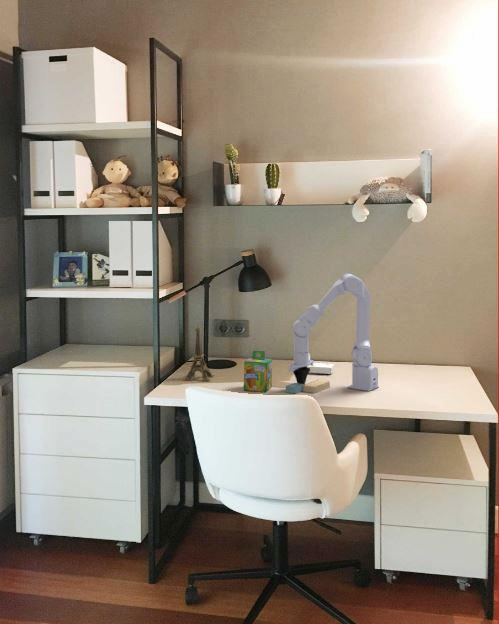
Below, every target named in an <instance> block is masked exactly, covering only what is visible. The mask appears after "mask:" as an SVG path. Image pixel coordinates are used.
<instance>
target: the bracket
mask: <svg viewBox="0 0 499 624" xmlns="http://www.w3.org/2000/svg"><path fill="white" fill-rule="evenodd" d="M309 360H311V353H309ZM307 368H310V371H309V373H308V374H311V373H312V374H325V375H327V374H328V375H333V374H334V372H335V364H334V363H320V362H319V363H317V362H313V365H310V366H307Z"/></svg>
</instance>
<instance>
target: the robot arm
mask: <svg viewBox="0 0 499 624" xmlns="http://www.w3.org/2000/svg"><path fill="white" fill-rule="evenodd" d="M347 292H348V293H351V294H352V295H353V297H355V299H356V318H355V320H356V321H355V340H354V343H353V349H352V350H351V357H352V359H353V361H352V365H351V366H352V368H351V369H352V370H351V371H352V372H351V373H352V375H351V385H348V386H347V388H349V389H352V390H353V389H355V390H361V391H366V392H370V391H373V390H375V389H377V388H380V387H379V370H378V367H377V366H374V365H372V363H373V353H372V350H371V347H372V346H371V344H370V323H371V322H370V318H371V317H370V315H371V293H370V292H369V290H368V288H367V287H366V285H365V283H364V281H363V280H362V279H360V277H358V276H356V275H353V274H352V273H344V274H343V275H342V276H341V277H340V278H339V279H337V280H336V281H335V283H334V284H333V285H332V286H331V287H330V288H329V290H328V291H327V292H326V293H325V294H324V296H323V297H322V298H321V300H319V301H318V303H317V304H312V305H311V306H310V305H308V306H307V308H306V309H307V310H306V311H305V312H304V313H303V314H302V315H301V316H298V320H295V321H294V323H293V326H292V331H293V332H294V334H293V361H291V364H290V365H288V372H292V373H293V375H294V377H295V380H296V383H300V384H304V385H305V384H306V381H307V377H308V375H309V374H310V373H309V371H310V368H307V366H310V365H313V363H314V360H313V359H310V360H309V354H310V353H309V352H310V350H309V347H310V343H309V335H310V333H311V328H313V327H315V325H316V324H317V323H318V322H319V320H321V318H322V317H323V316H324V310H325V309H326V308H327V307H328V306H329V305H330V304H332V302H333V301H334V300H335V299H337V297H338V296H341V295H346V294H347Z"/></svg>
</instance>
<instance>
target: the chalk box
mask: <svg viewBox="0 0 499 624" xmlns="http://www.w3.org/2000/svg"><path fill="white" fill-rule="evenodd" d="M265 352H266V351H265V350H253V351H252V356H250V357H248V358H247V359H246V360H244V364H243V366H244V367H243V391H244V392H259V393H267V392H268V391H269V390H271V388H272V387H273V386H272V384H273V359H272V358H270V357H266V356H265V354H266V353H265ZM258 354H260V356H256V355H258Z"/></svg>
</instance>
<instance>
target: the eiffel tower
mask: <svg viewBox="0 0 499 624" xmlns="http://www.w3.org/2000/svg"><path fill="white" fill-rule="evenodd" d="M194 331H195V332H196V333H195V334H196V335H195V344H194V345H195V347H194V354H193V356H192V357H193V361H192V364H191V366H190V367H191V368H190V370H189V371H188V373H187V375H186V376H185V378H184V379H183V382H191V381H192V377H193V378H194V377H196V372H200V373H201V374H202V381H201V382H202V383H203V382H204V383H210V381H211V379H210V378H214V377H215V375H214V374H213V373H212V371H211V370H210V369H209V368H208V366H207V363H206V362H205V359H204V356H205V354H204V353H203V348H202V340H201V339H202V338H201V331H202V329H201V327H199V326H197V327H196V328H195V329H194ZM198 360H199V363H198Z"/></svg>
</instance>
